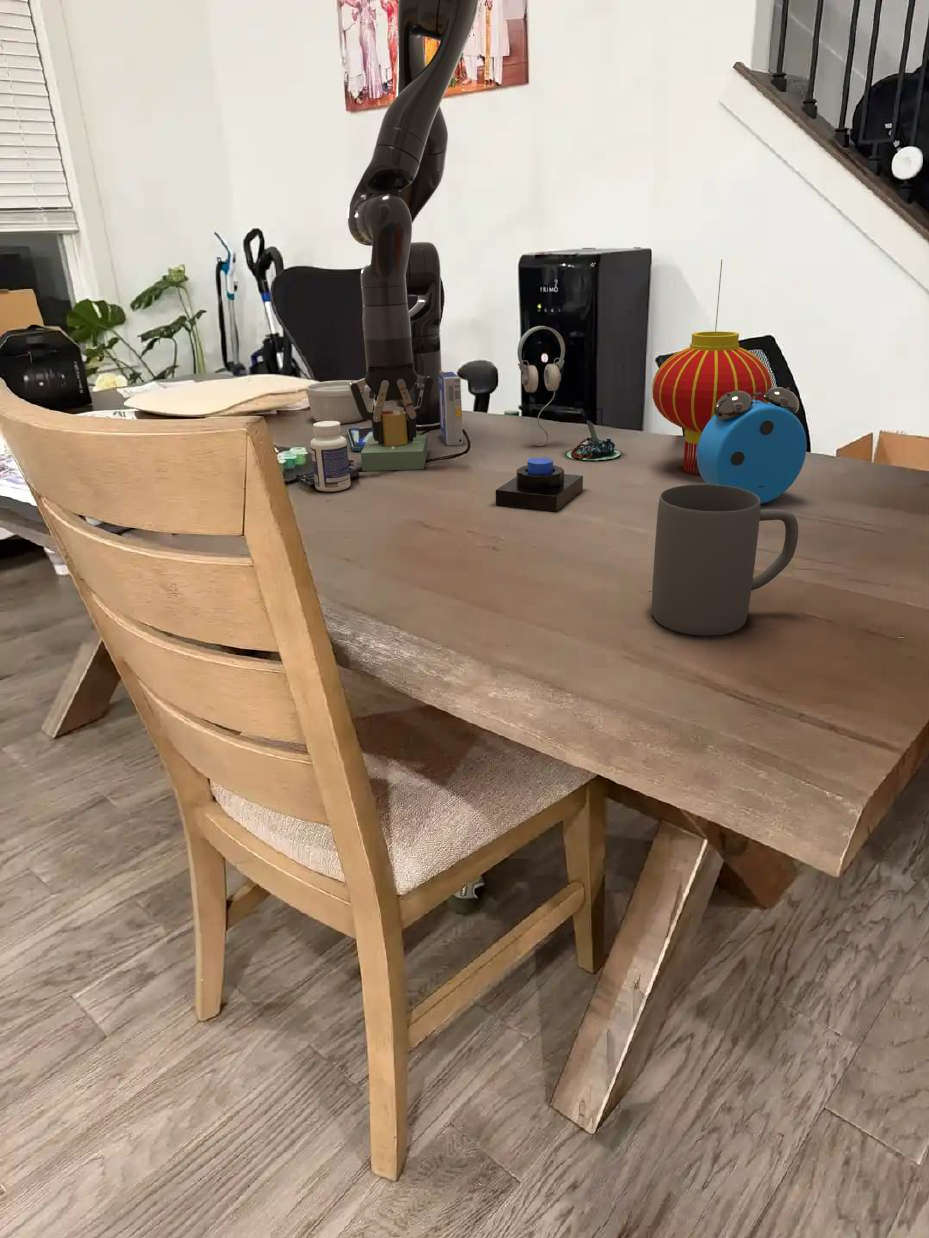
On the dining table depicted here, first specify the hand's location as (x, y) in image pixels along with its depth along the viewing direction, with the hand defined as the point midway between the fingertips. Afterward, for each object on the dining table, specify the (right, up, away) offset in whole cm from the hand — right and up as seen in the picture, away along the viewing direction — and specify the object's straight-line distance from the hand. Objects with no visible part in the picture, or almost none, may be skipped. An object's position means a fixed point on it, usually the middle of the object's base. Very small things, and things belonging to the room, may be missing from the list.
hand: (395, 441), depth 141 cm
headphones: (+25, +1, +8) cm, 26 cm away
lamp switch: (+22, -12, -21) cm, 33 cm away
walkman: (+9, +3, +14) cm, 17 cm away
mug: (+36, -29, -58) cm, 75 cm away
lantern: (+49, -7, -10) cm, 50 cm away
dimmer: (0, -3, +1) cm, 3 cm away
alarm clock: (+50, -14, -25) cm, 58 cm away
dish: (+33, -2, +1) cm, 33 cm away
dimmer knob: (0, 0, 0) cm, 0 cm away
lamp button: (+22, -9, -22) cm, 33 cm away
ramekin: (-14, +12, +36) cm, 40 cm away
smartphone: (-6, +3, +15) cm, 17 cm away
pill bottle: (-9, -10, -12) cm, 18 cm away
